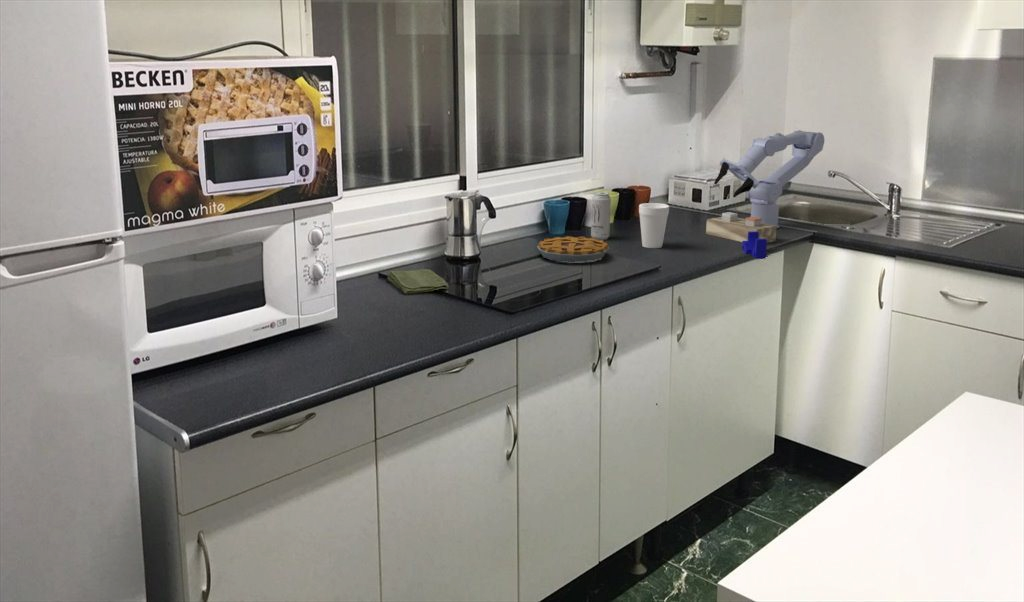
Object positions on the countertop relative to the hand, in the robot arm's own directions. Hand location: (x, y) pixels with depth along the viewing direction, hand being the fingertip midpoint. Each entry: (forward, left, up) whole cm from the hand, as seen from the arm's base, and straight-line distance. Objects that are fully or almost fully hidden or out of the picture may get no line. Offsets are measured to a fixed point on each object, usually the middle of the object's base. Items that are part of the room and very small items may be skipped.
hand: (724, 188), depth 326 cm
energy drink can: (+36, -20, -16) cm, 45 cm away
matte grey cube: (-3, +1, -13) cm, 14 cm away
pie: (+60, -6, -16) cm, 63 cm away
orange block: (-3, +11, -13) cm, 17 cm away
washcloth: (+116, -6, -16) cm, 118 cm away
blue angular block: (+13, +24, -16) cm, 32 cm away
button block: (-3, +6, -16) cm, 17 cm away
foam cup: (+30, -2, -16) cm, 34 cm away
